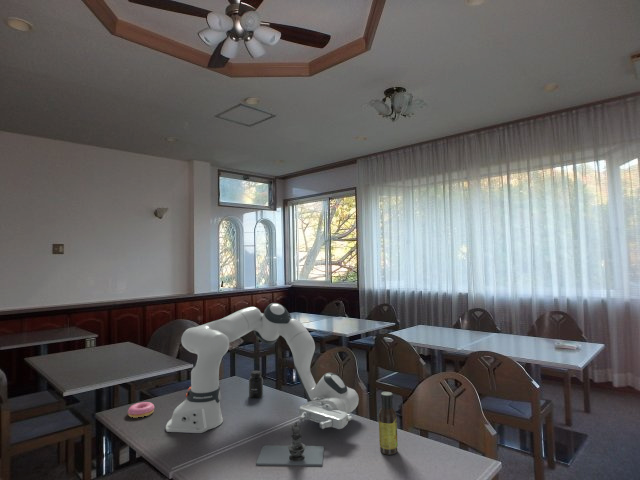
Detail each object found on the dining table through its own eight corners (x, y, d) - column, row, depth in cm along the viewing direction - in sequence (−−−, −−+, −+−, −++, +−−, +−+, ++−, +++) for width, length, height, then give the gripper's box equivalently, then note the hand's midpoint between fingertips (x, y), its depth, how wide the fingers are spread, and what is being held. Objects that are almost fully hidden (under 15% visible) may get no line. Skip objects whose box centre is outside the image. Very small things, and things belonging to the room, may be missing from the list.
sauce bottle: (400, 454, 134) (399, 395, 135) (383, 457, 133) (382, 397, 134) (393, 445, 141) (391, 389, 141) (376, 447, 139) (375, 391, 140)
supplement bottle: (251, 400, 187) (251, 374, 187) (247, 395, 193) (246, 371, 193) (265, 397, 190) (264, 372, 190) (260, 393, 196) (260, 368, 196)
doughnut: (137, 421, 166) (137, 411, 166) (122, 416, 171) (122, 406, 172) (159, 412, 175) (159, 403, 175) (144, 407, 181) (144, 398, 181)
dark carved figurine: (291, 452, 136) (291, 417, 136) (307, 454, 134) (307, 419, 135) (285, 460, 131) (284, 424, 131) (302, 463, 129) (301, 426, 129)
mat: (255, 465, 129) (255, 463, 129) (263, 447, 141) (263, 445, 141) (322, 466, 128) (322, 464, 128) (324, 447, 140) (324, 446, 140)
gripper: (354, 425, 149) (334, 439, 137) (311, 412, 161) (289, 424, 149) (354, 408, 149) (334, 421, 138) (311, 396, 161) (289, 407, 150)
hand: (310, 422), depth 144 cm, fingers open, 8 cm apart
